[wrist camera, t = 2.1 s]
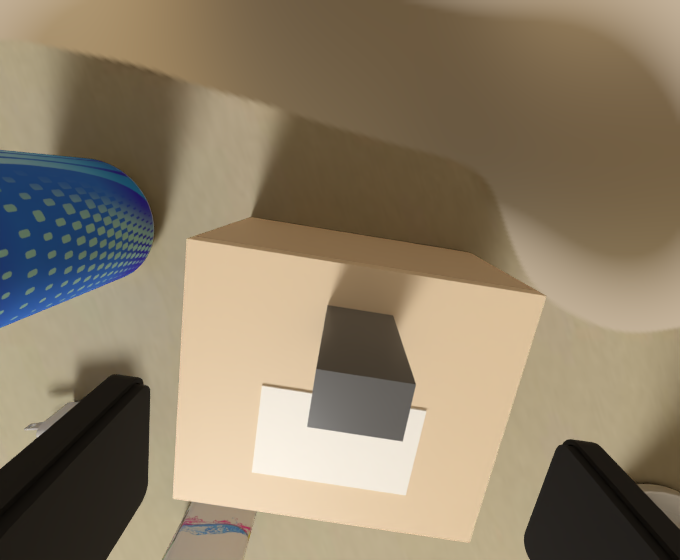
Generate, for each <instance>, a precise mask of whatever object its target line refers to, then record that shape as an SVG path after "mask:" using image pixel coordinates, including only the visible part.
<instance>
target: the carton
mask: <svg viewBox="0 0 680 560" xmlns="http://www.w3.org/2000/svg"><path fill="white" fill-rule="evenodd" d="M196 236H197V237H203V238H209V239H215V240H222V241H228V242H234V243H240V244H247V245H253V246H259V247H266V248H272V249H278V250H284V251H291V252H297V253H303V254H309V255H316V256H322V257H328V258H334V259H341V260H347V261H353V262H359V263H366V264H372V265H378V266H384V267H391V268H397V269H403V270H409V271H416V272H422V273H428V274H434V275H441V276H447V277H453V278H459V279H466V280H472V281H478V282H484V283H491V284H497V285H503V286H509V287H516V288H522V289H528V290H534V291H537V290H535V289H533V288H532V287H530V286H528V285H526V284H524V283H523V282H521V281H519V280H517V279H516V278H514V277H512V276H510V275H509V274H507V273H505V272H503V271H502V270H500V269H498V268H496V267H495V266H493V265H491V264H489V263H488V262H486V261H484V260H482V259H480V258H479V257H477V256H475V255H473V254H472V253H470V252H465V251H459V250H452V249H446V248H440V247H434V246H428V245H421V244H415V243H409V242H403V241H397V240H390V239H384V238H378V237H372V236H365V235H359V234H353V233H347V232H341V231H334V230H328V229H322V228H316V227H310V226H303V225H297V224H291V223H285V222H279V221H272V220H266V219H260V218H254V217H249V218H246V219H243V220H241V221H238V222H235V223H232V224H229V225H226V226H223V227H220V228H217V229H214V230H211V231H208V232H205V233H202V234H199V235H196Z"/></svg>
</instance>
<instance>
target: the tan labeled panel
mask: <svg viewBox="0 0 680 560" xmlns="http://www.w3.org/2000/svg"><path fill="white" fill-rule="evenodd" d="M545 300H546V295H544V294H542V293H540V292H539V291H534V290H528V289H522V288H516V287H509V286H503V285H497V284H491V283H484V282H478V281H472V280H466V279H459V278H453V277H447V276H441V275H434V274H428V273H422V272H416V271H409V270H403V269H397V268H391V267H384V266H378V265H372V264H366V263H359V262H353V261H347V260H341V259H334V258H328V257H322V256H316V255H309V254H303V253H297V252H291V251H284V250H278V249H272V248H266V247H259V246H253V245H247V244H240V243H234V242H228V241H222V240H215V239H209V238H203V237H197V236H193V237H190V238H187V243H186V261H185V280H184V299H183V317H182V336H181V354H180V373H179V392H178V410H177V429H176V447H175V466H174V484H173V499H178V500H185V501H192V502H198V503H205V504H212V505H219V506H225V507H232V508H239V509H245V510H252V511H259V512H266V513H272V514H279V515H286V516H293V517H299V518H306V519H313V520H320V521H326V522H333V523H340V524H347V525H353V526H360V527H367V528H374V529H380V530H387V531H394V532H400V533H407V534H414V535H421V536H427V537H434V538H441V539H448V540H454V541H461V542H468V543H470V540H471V537H472V533H473V530H474V527H475V524H476V521H477V517H478V514H479V511H480V508H481V505H482V501H483V498H484V495H485V492H486V489H487V485H488V482H489V479H490V476H491V473H492V469H493V466H494V463H495V460H496V457H497V453H498V450H499V447H500V444H501V441H502V437H503V434H504V431H505V428H506V424H507V421H508V418H509V415H510V412H511V408H512V405H513V402H514V399H515V396H516V392H517V389H518V386H519V383H520V380H521V376H522V373H523V370H524V367H525V364H526V360H527V357H528V354H529V351H530V348H531V344H532V341H533V338H534V335H535V332H536V328H537V325H538V322H539V319H540V316H541V312H542V309H543V306H544V303H545Z"/></svg>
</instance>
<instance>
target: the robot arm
mask: <svg viewBox="0 0 680 560" xmlns="http://www.w3.org/2000/svg"><path fill="white" fill-rule="evenodd" d="M149 417H150V388H149V387H148V386H145V385H143V381H142V379H141V378H138V377H131V376H124V375H117V374H114V375H111V376H110V377H108V378H107V379H106V380H105V381H103V382H102V383H101V384H100V385H99V386H98V387H96V388H95V389H94V390H93V391H92V392H91V393H89V394H88V395H87V396H86V397H85V398H83V399H82V400H81V401H80V402H79V403H78V404H76V405H75V406H74V407H73V408H72V409H71V410H69V411H68V412H67V413H66V414H65V415H63V416H62V417H61V418H60V419H59V420H58V421H56V422H55V423H54V424H53V425H52V426H51V427H49V428H48V429H47V430H46V431H45V432H43V433H42V434H41V435H40V436H39V437H38V438H36V439H35V440H34V441H33V442H32V443H31V444H29V445H28V446H27V447H26V448H25V449H23V450H22V451H21V452H20V453H19V454H18V455H16V456H15V457H14V458H13V459H12V460H11V461H9V462H8V463H7V464H6V465H5V466H3V467H2V468H1V469H0V560H106V559H107V557H108V556H109V554H110V552H111V551H112V549H113V548H114V546H115V544H116V543H117V541H118V540H119V538H120V536H121V535H122V533H123V532H124V530H125V528H126V527H127V525H128V524H129V522H130V520H131V519H132V517H133V515H134V514H135V512H136V511H137V509H138V507H139V506H140V504H141V502H142V501H143V498H144V496H145V493H146V490H147V486H148V457H149ZM524 545H525V549H526V552H527V555H528V557H529V559H530V560H680V492H678V491H676V490H674V489H671V488H668V487H665V486H660V485H653V484H636V483H635V482H634V481H633V480H632V479H631V478H630V477H629V476H628V475H627V474H626V473H625V472H624V470H623V469H622V468H621V467H620V466H619V465H618V464H617V463H616V462H615V461H614V460H613V459H612V458H611V457H610V456H609V455H608V454H607V453H606V452H605V451H604V450H603V449H602V448H601V447H600V446H599V445H598V444H596V443H593V442H586V441H579V440H572V439H569V440H566V441H565V442H564V443H563V445H559V446H558V447H557V448H556V450H555V453H554V456H553V458H552V461H551V464H550V467H549V469H548V472H547V475H546V477H545V480H544V483H543V485H542V488H541V491H540V494H539V496H538V499H537V502H536V504H535V507H534V510H533V513H532V515H531V518H530V521H529V523H528V526H527V529H526V531H525V535H524Z"/></svg>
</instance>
